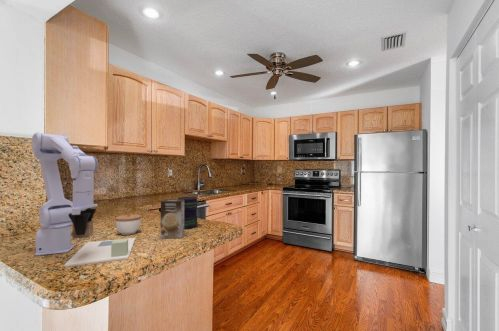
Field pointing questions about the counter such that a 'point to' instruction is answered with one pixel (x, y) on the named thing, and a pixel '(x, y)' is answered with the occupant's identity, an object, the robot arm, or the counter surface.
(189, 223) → the storage jar
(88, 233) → the walnut block
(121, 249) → the sage block
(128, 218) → the lidded jar
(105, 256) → the board
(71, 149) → the robot arm
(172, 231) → the coffee box
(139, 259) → the counter surface
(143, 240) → the counter surface
